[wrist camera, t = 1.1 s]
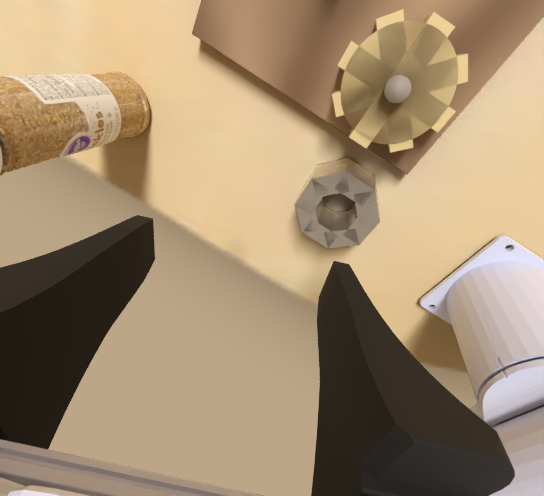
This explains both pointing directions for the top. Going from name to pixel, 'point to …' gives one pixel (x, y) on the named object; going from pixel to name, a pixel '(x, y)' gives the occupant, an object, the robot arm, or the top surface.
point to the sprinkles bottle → (66, 115)
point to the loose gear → (346, 224)
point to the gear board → (336, 22)
